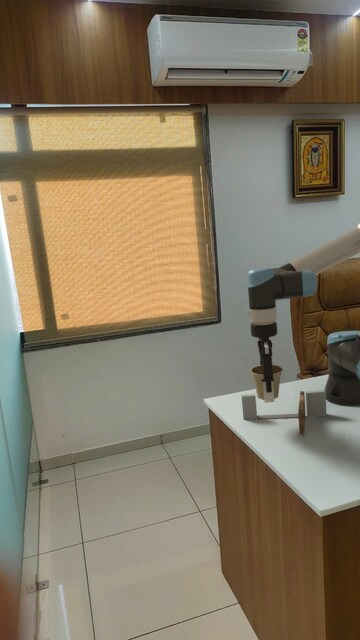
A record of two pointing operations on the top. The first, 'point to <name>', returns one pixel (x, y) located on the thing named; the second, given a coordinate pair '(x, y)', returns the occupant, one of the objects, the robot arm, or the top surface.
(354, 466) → the top surface
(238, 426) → the top surface
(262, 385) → the flower pot
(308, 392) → the wall
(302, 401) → the door
